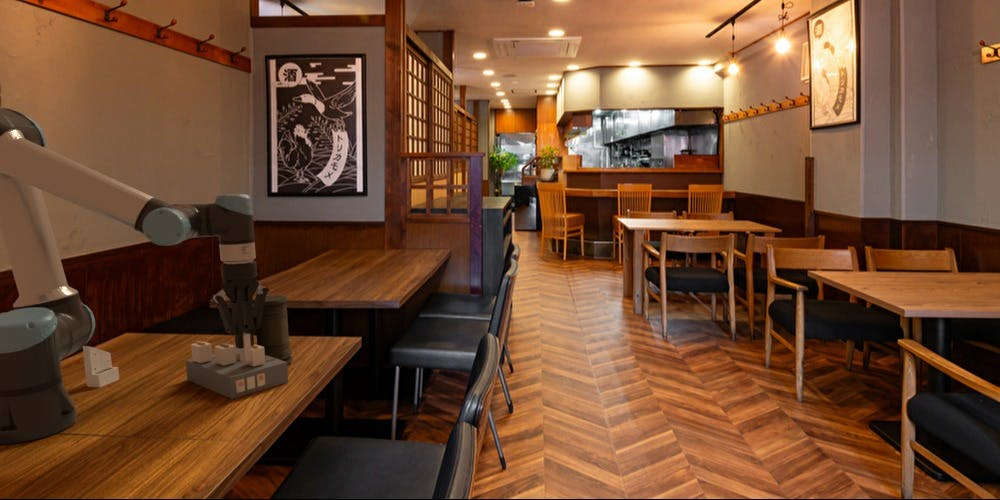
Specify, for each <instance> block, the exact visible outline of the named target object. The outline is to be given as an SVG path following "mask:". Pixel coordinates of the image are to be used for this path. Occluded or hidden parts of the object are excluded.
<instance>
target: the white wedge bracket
mask: <svg viewBox="0 0 1000 500" xmlns="http://www.w3.org/2000/svg"><path fill="white" fill-rule="evenodd" d="M82 351H83V362H84V370H85V371H84V372H85V381H86V382H85V383H86V387H87V386H88V388H103V387H104V386H107V385H108V384H112V383H114V382H116V381H119V380H120V373H119V372H120V371H119V367H118V366H113V365H112V355H111V352H109V351H105V350H103V349H100V348H95V347H92V346H89V345H84V346H83V347H82Z"/></svg>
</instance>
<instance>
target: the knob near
mask: <svg viewBox="0 0 1000 500" xmlns="http://www.w3.org/2000/svg"><path fill="white" fill-rule="evenodd" d="M251 353H252V361H250V362H245V364H247V365H250V366H253V367H254V366H258V365H261V364H265V352H264V347H262V346H259V345H257V343H254V345H253V346H251Z"/></svg>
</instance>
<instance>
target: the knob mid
mask: <svg viewBox="0 0 1000 500" xmlns="http://www.w3.org/2000/svg"><path fill="white" fill-rule="evenodd" d="M235 348H236V345H233V344H229V343H224V342H221V343H219V345H215V346H214V353H215V361H216V363H218V364H221V365H228V364H232V363H236V354H235Z"/></svg>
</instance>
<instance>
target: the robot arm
mask: <svg viewBox="0 0 1000 500" xmlns="http://www.w3.org/2000/svg"><path fill="white" fill-rule="evenodd" d="M46 147H47V139H46V134H45V133H44V130H43V129H42V127H41V126H40V125H39V123H38V122H36V121H35V120H34V119H33V118H31V117H30V116H28V115H27V114H24V113H22V112H20V111H17V110H14V109H11V108H6V107H0V233H1V237H2V240H3V244H4V247H5V250H6V254H7V257H8V260H9V264H10V267H11V270H12V275H13V277H14V280H15V285H16V288H17V292H18V298H17V299H16V300H15V302H14V303H13V304H12V307H13V309H12V310H10V311H8V312H1V313H0V445H10V444H19V443H20V444H21V443H25V442H30V441H34V440H39V439H43V438H45V437H48V436H52V435H55V434H57V433H60V432H62V431H64V430H66V429H68V428H70V427H71V426H73V425H74V424H75V423H76V422H77V421H78V414H77V408H76V405H75V403H74V402H73V400H72V398H71V397H70V395H69V393H68V391H67V389H66V387H65V386H64V382H63V375H62V374H63V372H62V363H61V362H62V361H63V360H64V359H65V358H67V357H68V356H70V355H73V354H74V353H76V352H78V351H79V350H81V349H83V346H86V344H87V343H88V342H89V341H90V340H91V338H92V336H93V335H94V332H95V329H96V319H95V315H94V313H93V311H92V310H91V309H90V308H89V307H88V305H85V304H84V303H83V302H82V300H81V297H80V294H79V291H78V290H77V289H75V288H73V287H71V286H69V284H68V281H67V277H66V274H65V271H64V267H63V264H62V260H61V256H60V252H59V248H58V245H57V241H56V238H55V235H54V230H53V228H52V224H51V221H50V216H49V213H48V210H47V206H46V203H45V199H44V196H43V195H44V194H43V192H42V191H44V192H46V193H49V194H51V195H53V196H56V197H57V198H60V199H62V200H64V201H67V202H69V203H72V204H74V205H76V206H78V207H81V208H82V209H83V208H84V209H85V210H88V211H90V212H93V213H95V214H97V215H99V216H101V217H104V218H106V219H109V220H111V221H114V222H115V223H118V224H121V225H122V226H125V227H128V228H130V229H132V230H135V231H136V232H138V233H140V234H143V235H144V236H145V237H146V239H147V240H149V242H151V243H152V244H155V245H158V246H167V247H168V246H169V247H170V246H176V245H178V244H181V243H183V241H187V240H189V239H192V238H207V237H209V238H210V237H211V238H212V237H213V238H215V237H217V238H218V244H219V246H218V247H219V257H220V261H221V262H222V263H221V265H220V270H221V279H222V285H221V287H220V289H221V290H219V291H218V292H217V293H216V294H215V293H214V294H212V295H211V300H212V301H213V302H214V303H215V304H216V306H217V309H218V310H217V311H219V314H220V315H219V316H220V319H221V322H222V324H223V327H224V330H225V332H226V333H227V334H230V335H234V340H235V341H234V342H235V348H238V349H239V351H240V360H241V361H243V362H250V361H252V353H251V346H253V345H255V340H254V339H255V337H254V334H256V333H257V332H256V329H259V328H260V327H261V323H262V317H263V310H264V304H265V297H266V296H267V295H268V293H269V290H270V289H269V287H266V286H263V285H261V284H260V282H259V280H258V279H257V278H258V271H257V270H258V268H257V262H256V260H255V259H256V258H257V257H256V244H255V243H256V240H255V224H254V223H255V222H254V212H253V205H252V198H251V196H250V195H248V194H246V193H230V194H226V193H225V194H217V195H216V197H215V201H214V202H213V203H192V204H191V203H187V204H186V203H185V204H179V203H174V204H173V203H172V204H170V203H167V202H165V201H163V200H161V199H158V198H155V197H154V196H152V195H150V194H147V193H145V192H143V191H140V190H139V189H137V188H134V187H132V186H130V185H127V184H125V183H123V182H120V181H118V180H117V179H114V178H112V177H110V176H108V175H105V174H103V173H101V172H99V171H97V170H94V169H92V168H90V167H87V166H86V165H84V164H81V163H80V162H76V160H75V161H74V160H73V159H70V158H68V157H66V156H63V155H61V154H59V153H56V151H52V150H50V149H48V148H46ZM254 295H255V297H254ZM227 298H228V299H229V304H230V306H231V312H230V309H229V306H228V303H227V301H226V300H227ZM254 299H255V302H254V303H253V300H254Z"/></svg>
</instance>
